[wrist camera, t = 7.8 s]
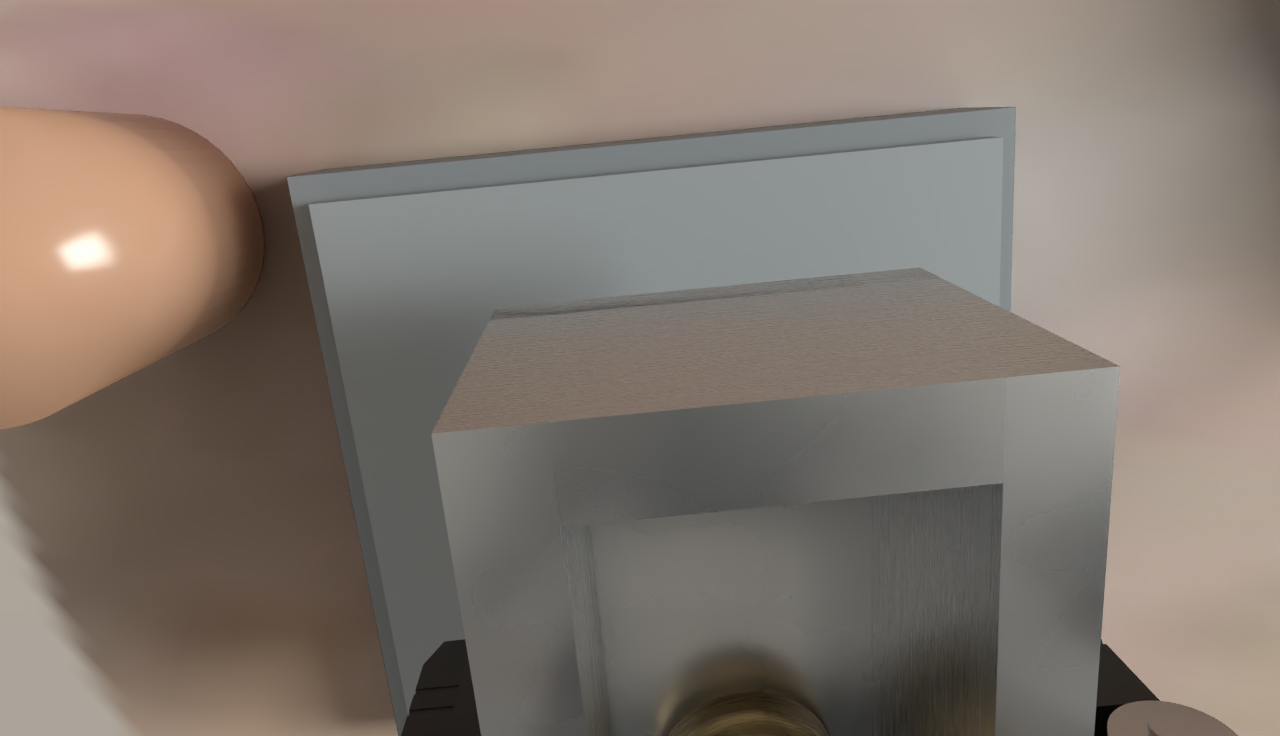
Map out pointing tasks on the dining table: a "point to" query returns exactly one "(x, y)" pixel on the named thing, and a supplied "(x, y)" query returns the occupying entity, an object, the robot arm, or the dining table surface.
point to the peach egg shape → (112, 251)
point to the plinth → (599, 279)
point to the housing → (780, 514)
